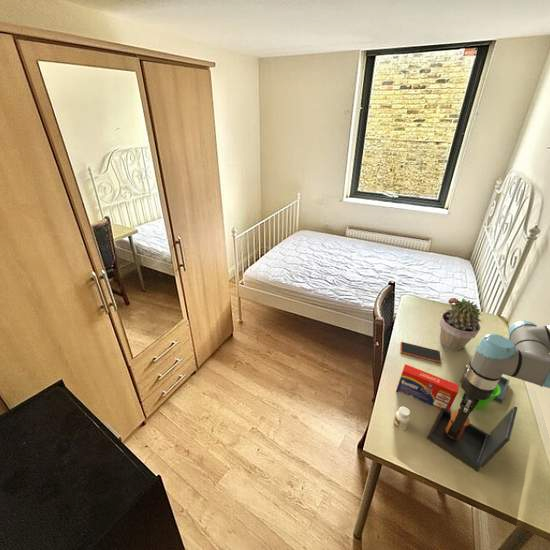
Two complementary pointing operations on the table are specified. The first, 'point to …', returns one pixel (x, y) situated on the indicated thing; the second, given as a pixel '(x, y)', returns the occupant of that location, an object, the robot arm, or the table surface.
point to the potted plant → (459, 324)
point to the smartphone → (420, 352)
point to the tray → (503, 386)
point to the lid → (499, 436)
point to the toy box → (427, 387)
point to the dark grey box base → (460, 441)
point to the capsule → (453, 416)
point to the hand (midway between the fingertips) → (454, 429)
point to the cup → (484, 403)
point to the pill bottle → (402, 418)
